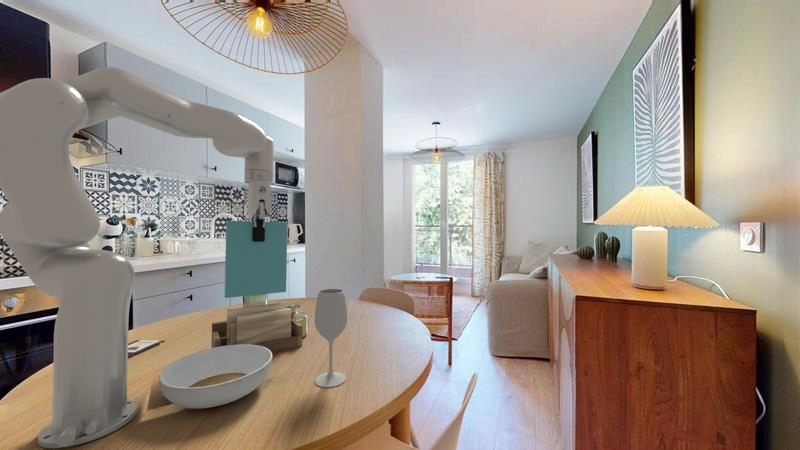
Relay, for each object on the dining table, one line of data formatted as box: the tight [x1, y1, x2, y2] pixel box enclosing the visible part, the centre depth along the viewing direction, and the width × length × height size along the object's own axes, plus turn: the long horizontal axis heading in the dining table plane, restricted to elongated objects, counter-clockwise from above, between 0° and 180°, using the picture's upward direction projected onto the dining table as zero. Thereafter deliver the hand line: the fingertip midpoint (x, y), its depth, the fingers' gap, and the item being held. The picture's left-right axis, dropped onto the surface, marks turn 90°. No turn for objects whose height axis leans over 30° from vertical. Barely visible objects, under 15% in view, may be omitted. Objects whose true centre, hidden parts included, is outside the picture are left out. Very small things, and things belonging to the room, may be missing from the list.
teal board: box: [224, 220, 288, 299], centre depth 89 cm, size 2×16×21 cm, turn 125°
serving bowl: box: [158, 344, 273, 409], centre depth 66 cm, size 21×21×7 cm
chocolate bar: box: [128, 339, 166, 360], centre depth 87 cm, size 9×1×18 cm
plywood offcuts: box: [226, 301, 292, 346], centre depth 85 cm, size 3×16×12 cm, turn 126°
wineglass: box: [314, 288, 348, 389], centre depth 73 cm, size 8×8×21 cm
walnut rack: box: [211, 310, 303, 354], centre depth 87 cm, size 10×22×10 cm, turn 126°
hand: (257, 240), depth 89 cm, fingers closed on teal board, 2 cm apart
